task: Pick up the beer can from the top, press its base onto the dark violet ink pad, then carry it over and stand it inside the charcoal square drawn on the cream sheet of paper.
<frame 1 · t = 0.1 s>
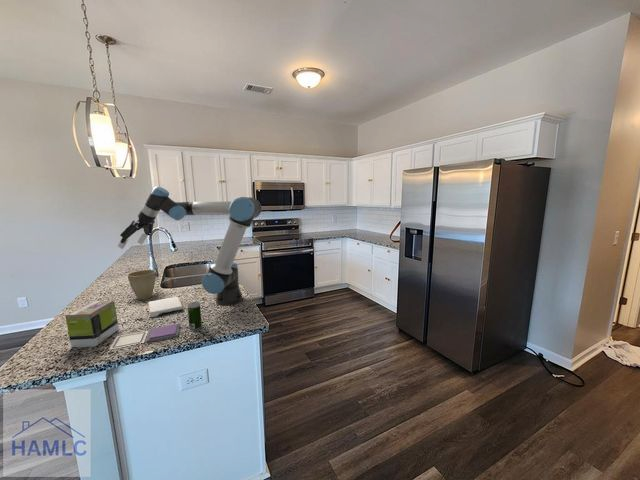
hand: (130, 245, 147), 36 cm above the countertop, tool tilted 35°, fingers open, 13 cm apart
print sheet: (130, 339, 117), on the countertop
plant pot: (144, 297, 169), on the countertop
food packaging: (165, 309, 151), on the countertop
ink pad: (164, 333, 122), on the countertop
tea box: (96, 339, 119), on the countertop
beer can: (195, 328, 127), on the countertop
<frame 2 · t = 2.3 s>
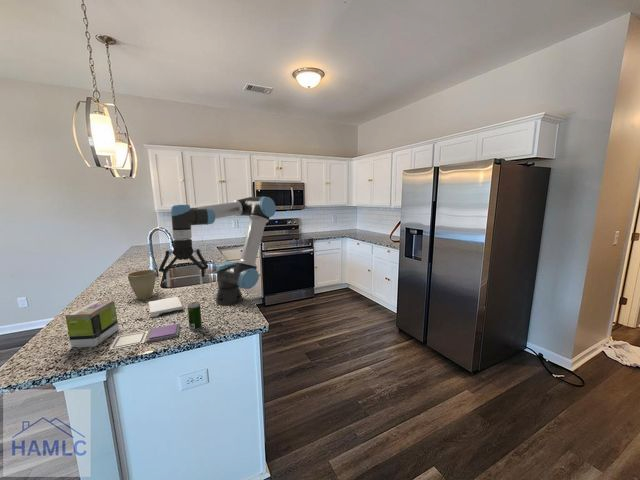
hand: (185, 285, 124), 21 cm above the countertop, tool pointing down, fingers open, 13 cm apart
nothing on the countertop moved.
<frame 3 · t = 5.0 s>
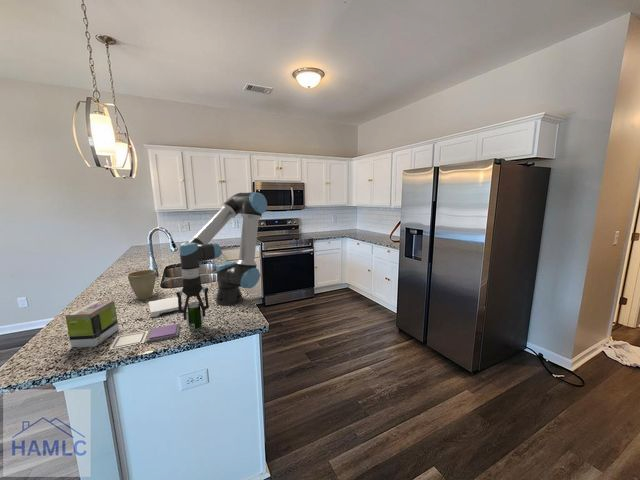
hand: (195, 324, 127), 2 cm above the countertop, tool pointing down, fingers closed on beer can, 5 cm apart
beer can: (195, 328, 127), on the countertop, touching gripper
everything else where it was.
when the fingers open (3 cm above the countertop, at t = 16.4 s): beer can stays where it is, resting on print sheet.
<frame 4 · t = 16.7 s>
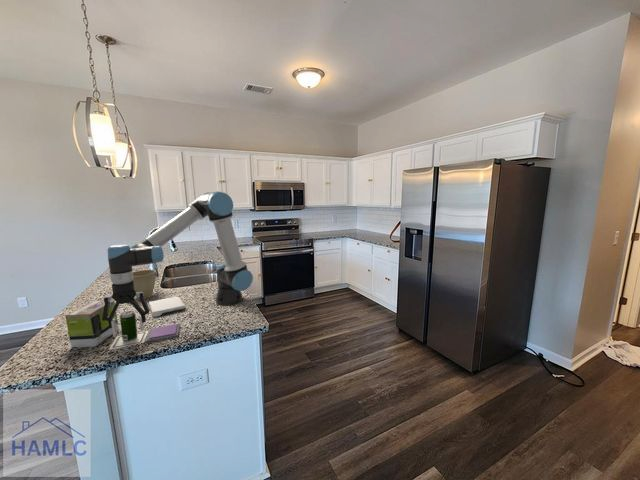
hand: (129, 331, 116), 4 cm above the countertop, tool pointing down, fingers open, 9 cm apart
beer can: (130, 339, 117), resting on print sheet
everything else where it was.
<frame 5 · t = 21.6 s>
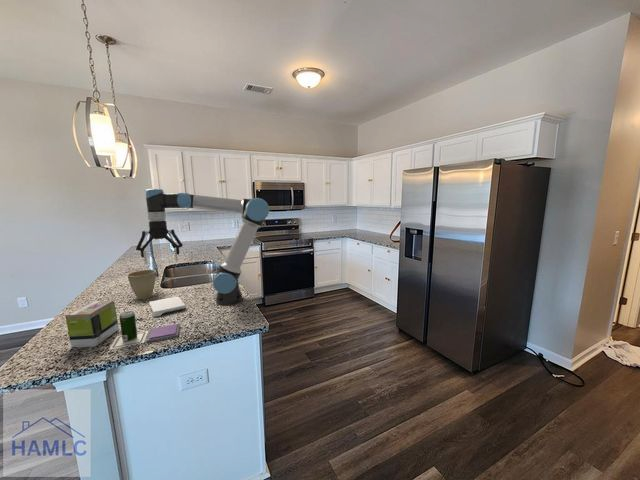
hand: (161, 262, 137), 29 cm above the countertop, tool pointing down, fingers open, 13 cm apart
nothing on the countertop moved.
at the end: beer can 0.1 cm off-centre on the print sheet, point 0.0 cm above the print sheet's base; beer can tilted 0°; the gripper is holding nothing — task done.
